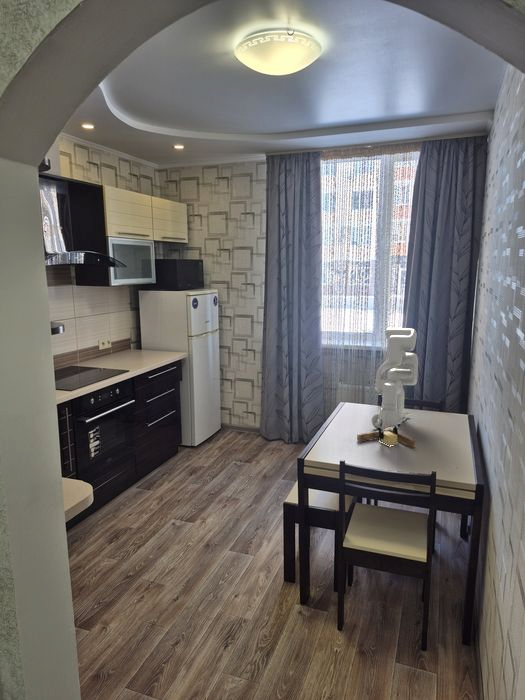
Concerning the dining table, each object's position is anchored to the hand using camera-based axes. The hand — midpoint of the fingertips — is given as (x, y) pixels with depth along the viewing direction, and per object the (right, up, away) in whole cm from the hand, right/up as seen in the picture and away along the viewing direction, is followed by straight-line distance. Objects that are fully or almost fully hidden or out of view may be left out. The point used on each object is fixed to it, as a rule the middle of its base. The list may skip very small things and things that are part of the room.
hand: (388, 437), depth 246 cm
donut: (+1, 0, +21) cm, 22 cm away
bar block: (0, -3, +1) cm, 3 cm away
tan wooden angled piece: (-2, -4, -1) cm, 4 cm away
